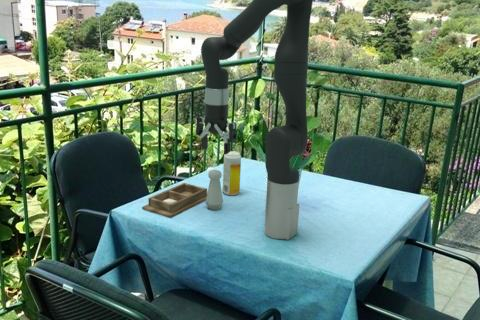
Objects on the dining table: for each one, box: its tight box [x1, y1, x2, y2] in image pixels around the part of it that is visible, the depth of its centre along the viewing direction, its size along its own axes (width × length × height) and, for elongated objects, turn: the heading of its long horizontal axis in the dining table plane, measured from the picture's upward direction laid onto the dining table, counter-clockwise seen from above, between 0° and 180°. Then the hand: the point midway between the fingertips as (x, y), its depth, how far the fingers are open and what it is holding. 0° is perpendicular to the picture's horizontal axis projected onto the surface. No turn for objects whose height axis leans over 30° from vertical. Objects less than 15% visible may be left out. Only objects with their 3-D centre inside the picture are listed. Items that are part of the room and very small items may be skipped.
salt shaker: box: [205, 169, 224, 211], centre depth 171 cm, size 6×6×13 cm
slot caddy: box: [141, 182, 208, 219], centre depth 175 cm, size 12×23×4 cm, turn 148°
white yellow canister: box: [222, 150, 242, 197], centre depth 184 cm, size 6×6×15 cm
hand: (215, 151), depth 167 cm, fingers open, 8 cm apart
